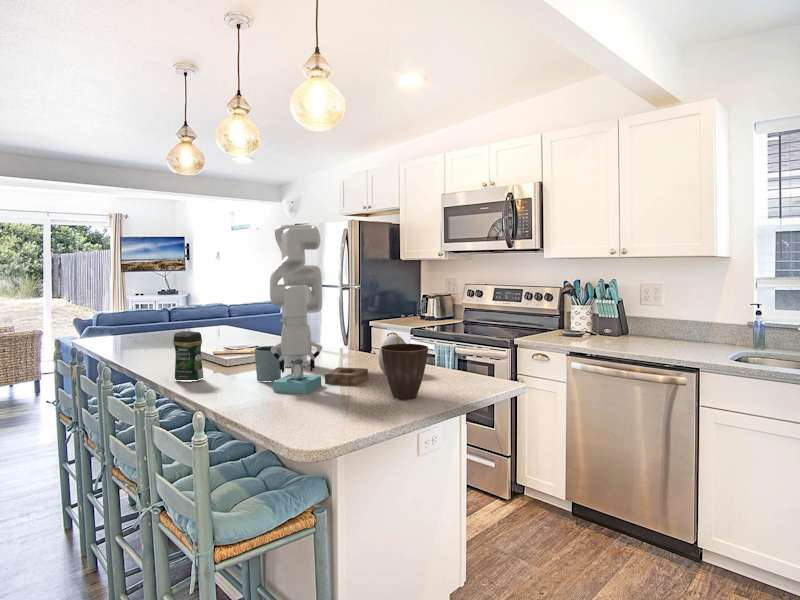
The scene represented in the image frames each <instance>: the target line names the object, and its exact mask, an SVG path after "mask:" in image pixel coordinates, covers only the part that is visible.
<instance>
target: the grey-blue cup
mask: <svg viewBox="0 0 800 600" xmlns="http://www.w3.org/2000/svg"><path fill="white" fill-rule="evenodd" d="M274 346H275V345H264V346H258V347H254V359H255V371H256V381H257V380H258V381H275V380H278V379H280V378H282V376H281V375H282V370H280V364H279V360H278V359H277V358H276V357H275V356H274V355H273V353H272V351H271V348H272V347H274ZM276 352H277V353H278V354H279V355H280V356H281V354H282V353H281V347H280V348H278V349H276ZM258 381H257V382H258Z"/></svg>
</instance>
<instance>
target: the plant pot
mask: <svg viewBox="0 0 800 600" xmlns="http://www.w3.org/2000/svg"><path fill="white" fill-rule="evenodd" d="M380 348H381V351H382V357H383V363H384V368H385V372H386V374H385V376H386V380H387V383H388V386H389V389H390V392H391V395H392V397H393V398H394V399H396V400H402V401H403V400H404V401H405V400H407V401H408V400H414V399H416V398H417V397H418V393H419V391H420V388H421V384H422V381H423V377H424V374H425V371H426V365H427V360H428V353H429V346H428V345H425V344H418V343H417V344H416V343H406V344H391V345H385V346H382V347H381V346H380Z"/></svg>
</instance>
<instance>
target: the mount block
mask: <svg viewBox="0 0 800 600" xmlns="http://www.w3.org/2000/svg"><path fill="white" fill-rule="evenodd" d="M367 379H369V369H368V368H363V367H362V368H360V367H342V366H341V367H340V366H339V367H336V368H334V369H332V370H330V371H328V372H326V373H324V384H325V385H343V386H345V385H346V386H357V385H359V384H360V383H363V382H364V381H365V380H367Z"/></svg>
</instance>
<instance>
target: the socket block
mask: <svg viewBox="0 0 800 600" xmlns="http://www.w3.org/2000/svg"><path fill="white" fill-rule="evenodd" d="M303 376H304V380H302V381H295V380H292V373H291V374H287V375H286V376H283V377H281V378H280V379H278V380H276V381H273V382H272V392H273V391H277V392H276V393H282V392H291V393H290V394H298V393H304V394H303V395H306V393H307V394H308V393H310V392H312V391H314V390H316V389H318V388H320V387H321V386H322V375H314V374H313V375H312V374H303ZM319 386H320V387H319Z"/></svg>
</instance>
